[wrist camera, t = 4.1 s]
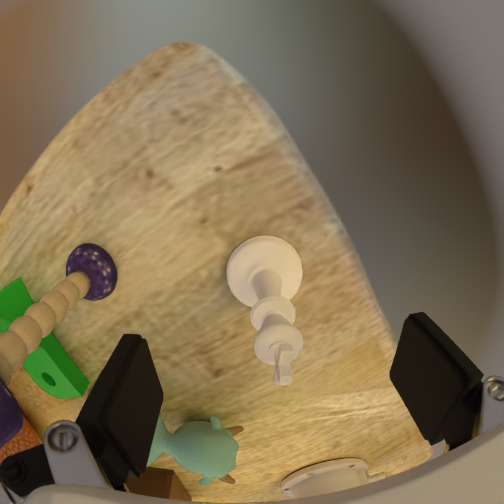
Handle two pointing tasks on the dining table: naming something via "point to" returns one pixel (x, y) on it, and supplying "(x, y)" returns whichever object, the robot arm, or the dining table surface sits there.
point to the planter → (20, 441)
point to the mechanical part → (42, 349)
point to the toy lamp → (49, 322)
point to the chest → (158, 485)
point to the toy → (198, 448)
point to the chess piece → (269, 299)
